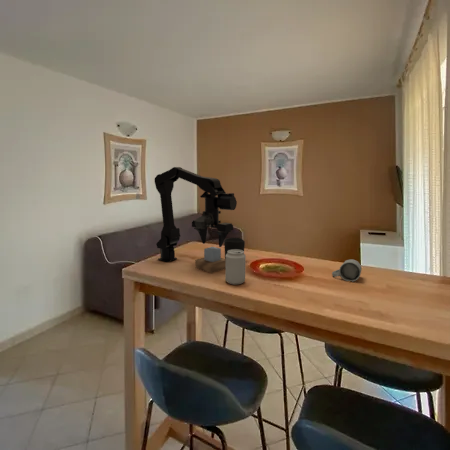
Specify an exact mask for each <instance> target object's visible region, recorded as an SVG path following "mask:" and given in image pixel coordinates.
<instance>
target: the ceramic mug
mask: <svg viewBox="0 0 450 450" xmlns="http://www.w3.org/2000/svg"><path fill="white" fill-rule="evenodd" d="M362 271H363V270H362V265H361V264H360V262H359V261H358V260H355V259H346V260H344V261H343V263H342V264H341V265H340V266H339V268H338V269H336V270H333V271H332V272H331V275H332V277H334V278H335V277H337V278H338V277H340V278H341V279H342V280H344V281H345V282H348V281H352V282H356V281H357V280H358V279H359V278H360V277H361V274H362Z"/></svg>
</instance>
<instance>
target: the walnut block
mask: <svg viewBox="0 0 450 450" xmlns="http://www.w3.org/2000/svg"><path fill="white" fill-rule="evenodd" d="M194 260H195V261H194V262H195V264H194V266H195V267H194V268H195V269H197V270H200V271H202V272H203V271H204V272H207V273H209V274H213V273H218V272H221V271H223V270H225V269H226V259H225V258H222V257H221V260H218V261H215V262H210V261H206V260H204V257H202V258H201V257H200V258H197V259H194Z"/></svg>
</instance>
